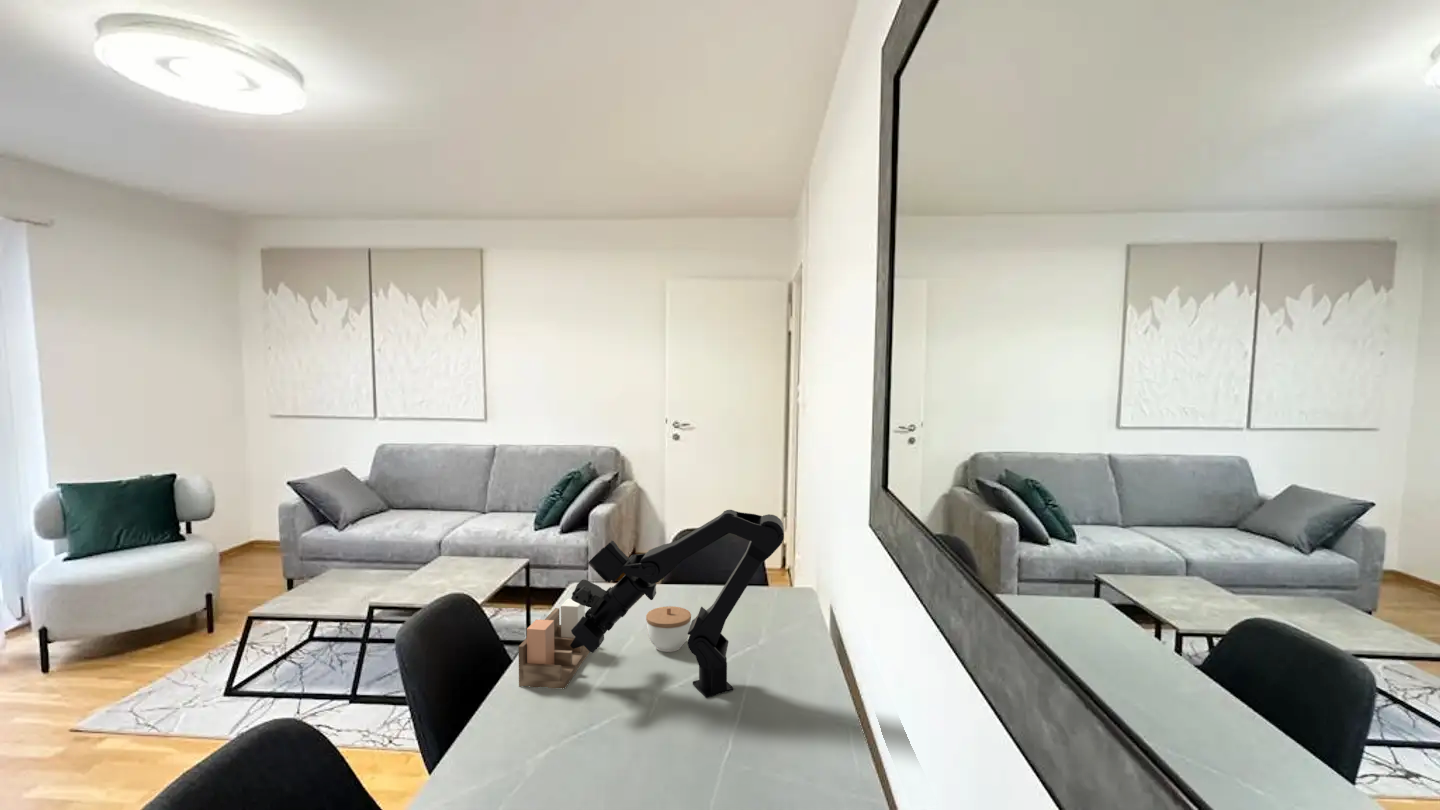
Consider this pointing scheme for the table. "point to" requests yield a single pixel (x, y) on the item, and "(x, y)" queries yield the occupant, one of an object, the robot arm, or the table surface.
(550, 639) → the light orange tall block
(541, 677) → the wooden desk organizer
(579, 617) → the white tall block
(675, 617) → the lidded jar
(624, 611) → the robot arm
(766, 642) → the table surface
